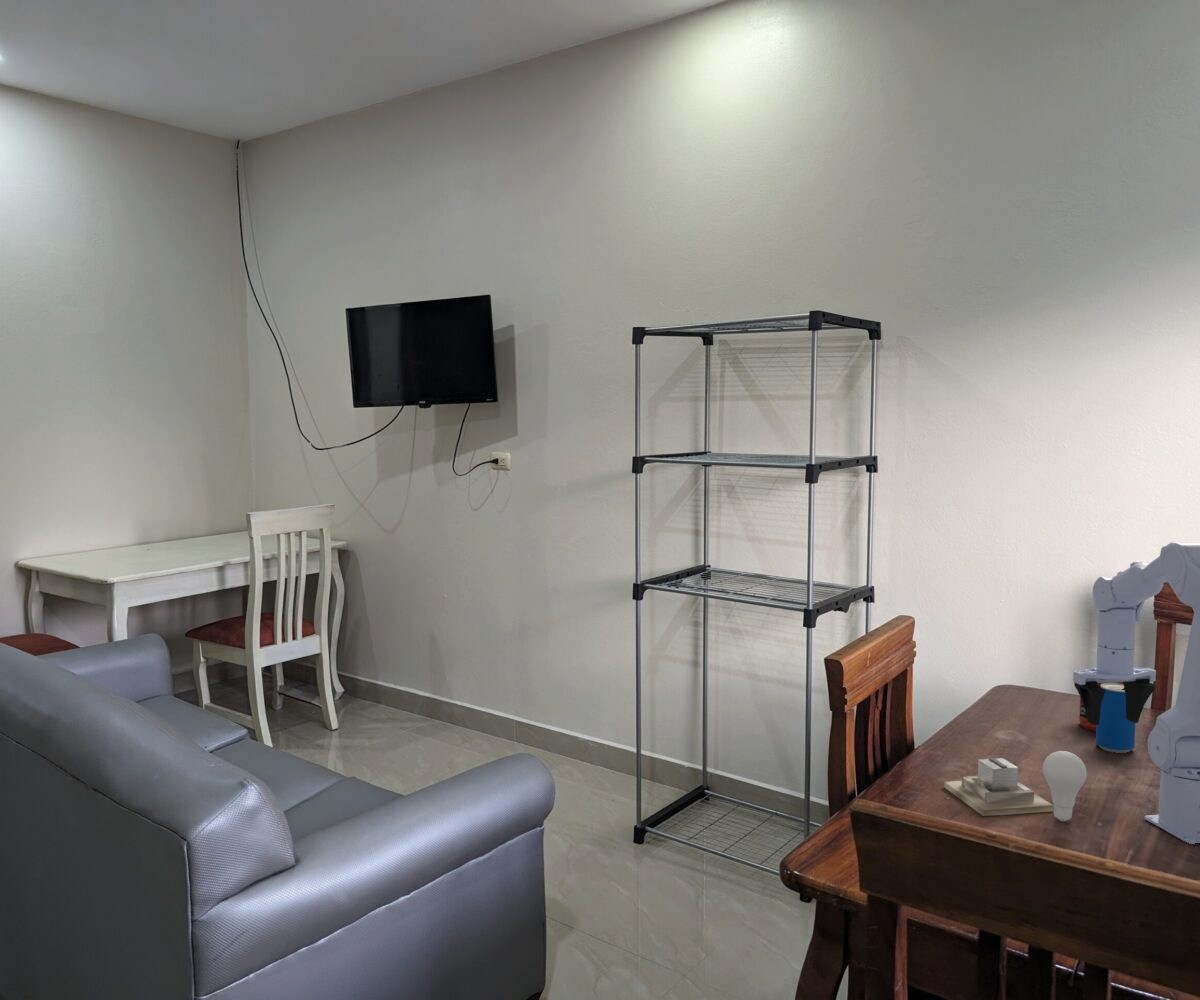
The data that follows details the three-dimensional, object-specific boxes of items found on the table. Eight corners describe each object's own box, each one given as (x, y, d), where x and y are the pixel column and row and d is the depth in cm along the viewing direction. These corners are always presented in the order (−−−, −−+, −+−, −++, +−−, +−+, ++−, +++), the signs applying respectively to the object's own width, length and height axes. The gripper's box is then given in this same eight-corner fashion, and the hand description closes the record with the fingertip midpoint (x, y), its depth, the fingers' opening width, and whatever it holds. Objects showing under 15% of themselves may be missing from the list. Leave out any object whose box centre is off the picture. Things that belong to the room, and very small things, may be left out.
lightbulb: (1071, 812, 150) (1074, 745, 149) (1092, 828, 144) (1095, 758, 143) (1033, 813, 150) (1036, 745, 149) (1053, 829, 144) (1055, 759, 143)
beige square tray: (1052, 811, 151) (1053, 796, 150) (983, 816, 149) (983, 800, 149) (1009, 783, 162) (1009, 769, 162) (944, 787, 161) (944, 773, 160)
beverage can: (1139, 755, 176) (1142, 692, 175) (1101, 753, 177) (1104, 690, 176) (1127, 744, 182) (1130, 683, 181) (1091, 742, 184) (1093, 681, 183)
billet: (1017, 797, 154) (1018, 766, 153) (992, 799, 153) (993, 767, 153) (1001, 787, 158) (1002, 756, 158) (977, 788, 157) (978, 758, 157)
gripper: (1136, 639, 170) (1133, 713, 171) (1063, 642, 168) (1060, 717, 169) (1166, 648, 163) (1162, 725, 164) (1089, 651, 161) (1086, 729, 162)
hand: (1112, 722), depth 166 cm, fingers open, 7 cm apart
